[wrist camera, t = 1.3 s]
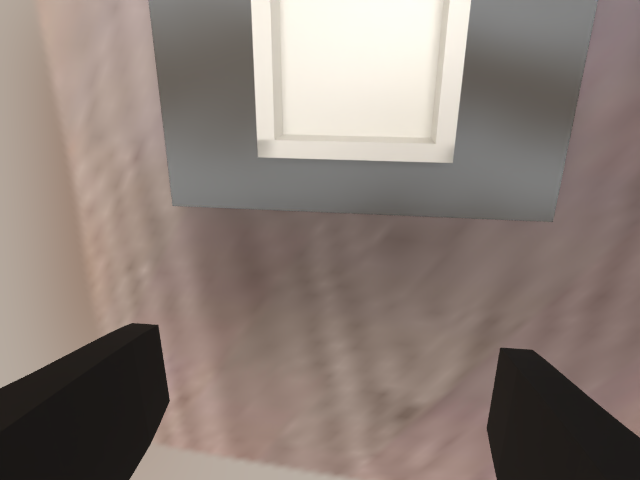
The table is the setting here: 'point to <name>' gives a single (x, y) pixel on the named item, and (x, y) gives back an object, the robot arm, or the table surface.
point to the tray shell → (358, 78)
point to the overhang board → (378, 176)
